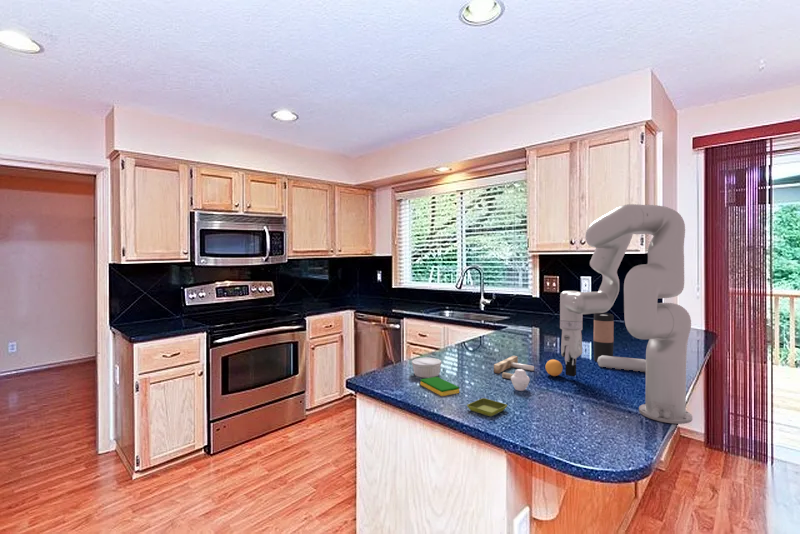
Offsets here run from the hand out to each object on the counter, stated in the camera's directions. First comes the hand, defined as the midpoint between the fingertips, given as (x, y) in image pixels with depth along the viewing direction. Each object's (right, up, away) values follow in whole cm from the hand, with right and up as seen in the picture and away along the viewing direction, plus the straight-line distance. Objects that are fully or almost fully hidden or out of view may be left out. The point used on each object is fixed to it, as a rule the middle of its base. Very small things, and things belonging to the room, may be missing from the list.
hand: (570, 375), depth 150 cm
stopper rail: (-19, -1, +16) cm, 25 cm away
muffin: (-22, -2, -11) cm, 24 cm away
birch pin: (-17, -1, -3) cm, 17 cm away
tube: (+29, -2, +12) cm, 31 cm away
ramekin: (-52, -2, +7) cm, 53 cm away
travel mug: (+24, -1, +25) cm, 35 cm away
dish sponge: (-49, -3, -9) cm, 50 cm away
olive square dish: (-37, -3, -29) cm, 47 cm away
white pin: (-10, 0, +11) cm, 15 cm away
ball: (-4, +2, +5) cm, 7 cm away
